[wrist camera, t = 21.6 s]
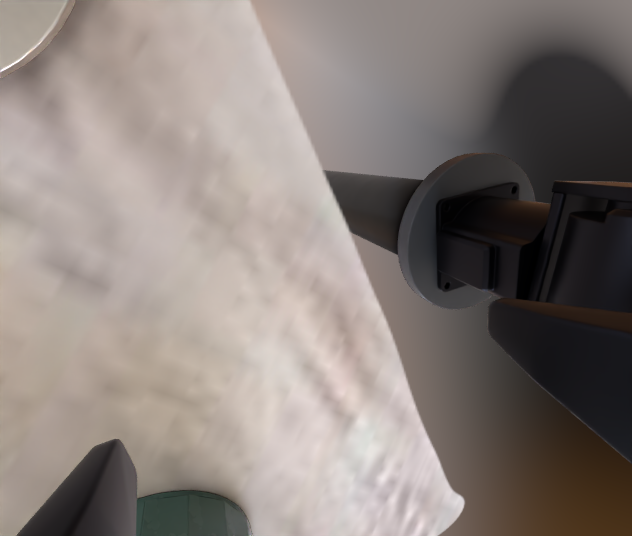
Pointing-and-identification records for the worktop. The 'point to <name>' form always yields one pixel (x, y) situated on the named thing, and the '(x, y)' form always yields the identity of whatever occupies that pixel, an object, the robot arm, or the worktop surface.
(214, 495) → the lunch tin
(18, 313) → the worktop surface
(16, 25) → the tin lid
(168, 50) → the worktop surface
